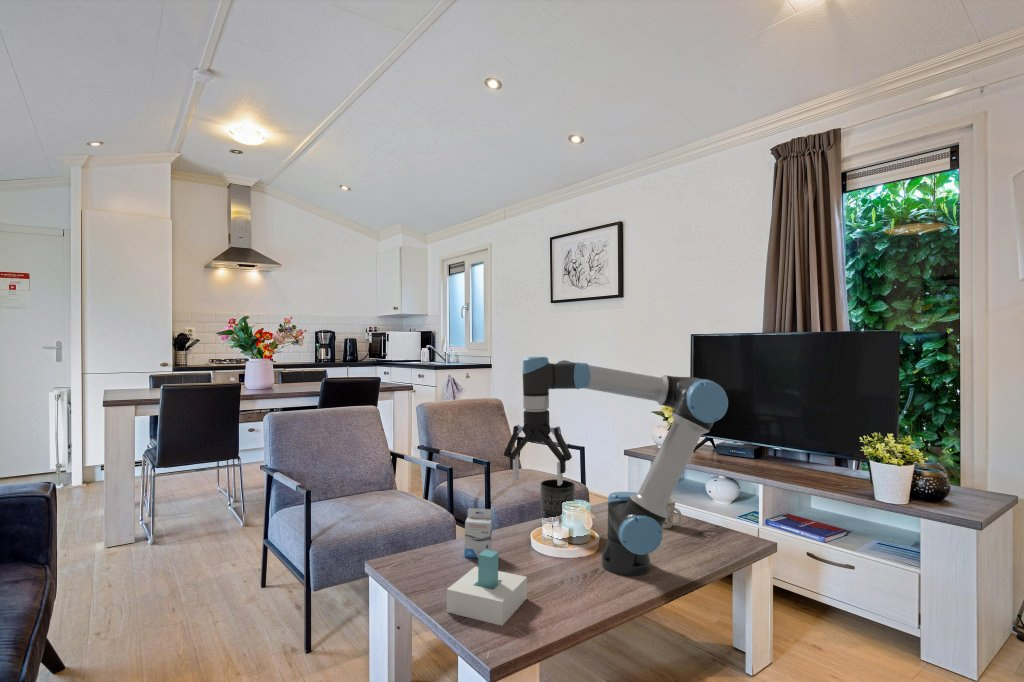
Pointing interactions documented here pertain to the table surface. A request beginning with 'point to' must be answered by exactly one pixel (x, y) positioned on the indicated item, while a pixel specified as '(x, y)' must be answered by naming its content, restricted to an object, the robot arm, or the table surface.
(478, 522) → the ink box
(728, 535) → the table surface
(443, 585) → the table surface
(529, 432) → the robot arm
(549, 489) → the planter
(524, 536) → the table surface
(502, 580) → the socket block
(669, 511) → the mug
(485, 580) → the post
